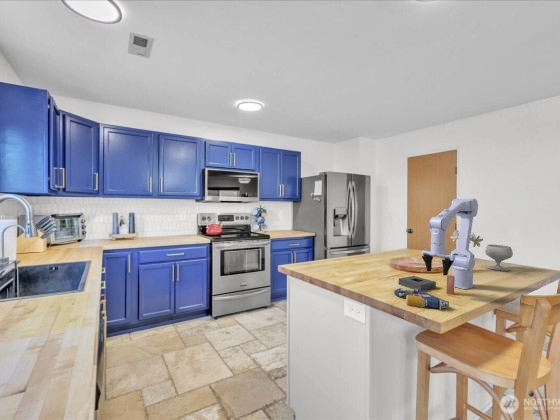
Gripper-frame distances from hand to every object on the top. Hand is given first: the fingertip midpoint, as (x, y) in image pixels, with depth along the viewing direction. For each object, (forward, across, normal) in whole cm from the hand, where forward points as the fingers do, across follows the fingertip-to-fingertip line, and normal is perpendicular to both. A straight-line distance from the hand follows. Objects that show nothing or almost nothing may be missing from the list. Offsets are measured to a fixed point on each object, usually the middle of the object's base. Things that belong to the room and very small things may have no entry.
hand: (436, 273), depth 126 cm
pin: (+10, +2, +7) cm, 12 cm away
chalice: (+11, -13, +87) cm, 88 cm away
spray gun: (+10, +2, -17) cm, 20 cm away
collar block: (+10, -12, +3) cm, 15 cm away
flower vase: (+10, -20, +61) cm, 65 cm away
